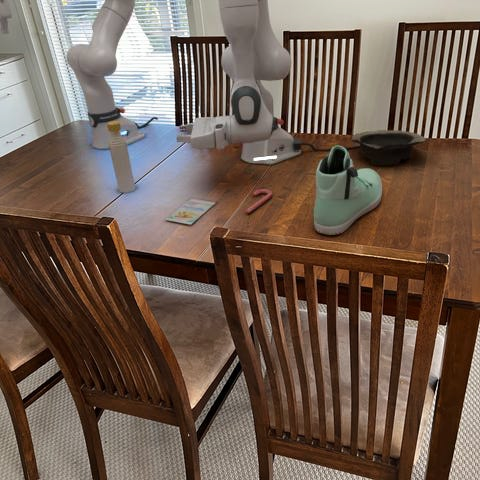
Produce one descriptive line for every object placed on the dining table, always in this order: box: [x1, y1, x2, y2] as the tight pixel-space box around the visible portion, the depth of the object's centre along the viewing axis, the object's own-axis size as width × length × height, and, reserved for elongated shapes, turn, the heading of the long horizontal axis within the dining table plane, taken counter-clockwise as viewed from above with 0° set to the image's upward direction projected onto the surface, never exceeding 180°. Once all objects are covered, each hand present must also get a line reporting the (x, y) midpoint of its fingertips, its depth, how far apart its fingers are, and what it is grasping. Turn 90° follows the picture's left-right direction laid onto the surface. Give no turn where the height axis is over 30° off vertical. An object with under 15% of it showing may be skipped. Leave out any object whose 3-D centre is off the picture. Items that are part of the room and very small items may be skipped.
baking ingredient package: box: [164, 198, 216, 226], centre depth 144 cm, size 9×1×15 cm
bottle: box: [109, 131, 136, 194], centre depth 156 cm, size 6×6×22 cm
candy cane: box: [245, 188, 273, 215], centre depth 146 cm, size 6×15×2 cm, turn 145°
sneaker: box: [313, 145, 383, 236], centre depth 133 cm, size 14×35×20 cm, turn 152°
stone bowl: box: [351, 129, 427, 166], centre depth 167 cm, size 25×25×9 cm
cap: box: [107, 121, 121, 132], centre depth 150 cm, size 4×4×2 cm
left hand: (0, 32), depth 160 cm, fingers open, 8 cm apart
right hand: (178, 133), depth 151 cm, fingers open, 8 cm apart
